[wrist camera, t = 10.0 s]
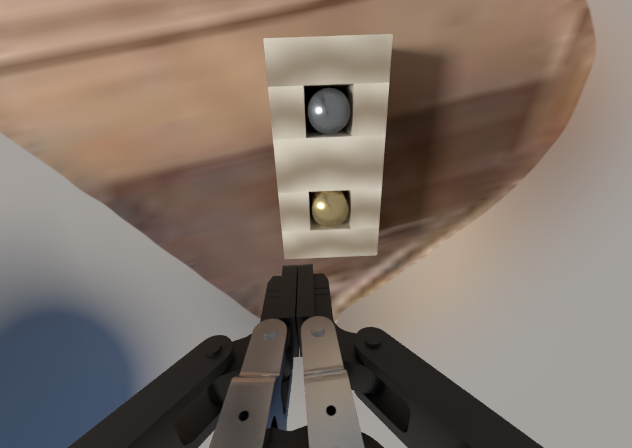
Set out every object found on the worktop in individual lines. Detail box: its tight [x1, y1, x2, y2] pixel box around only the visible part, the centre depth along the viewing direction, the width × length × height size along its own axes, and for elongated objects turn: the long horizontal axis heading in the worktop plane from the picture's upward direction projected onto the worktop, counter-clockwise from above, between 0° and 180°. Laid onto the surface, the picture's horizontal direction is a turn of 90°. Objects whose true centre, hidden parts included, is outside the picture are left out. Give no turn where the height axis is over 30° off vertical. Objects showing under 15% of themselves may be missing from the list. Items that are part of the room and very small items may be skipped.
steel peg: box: [308, 88, 350, 134], centre depth 31 cm, size 4×4×7 cm
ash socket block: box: [263, 34, 393, 259], centre depth 34 cm, size 24×12×8 cm, turn 2°
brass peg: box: [311, 190, 349, 227], centre depth 36 cm, size 4×4×7 cm
